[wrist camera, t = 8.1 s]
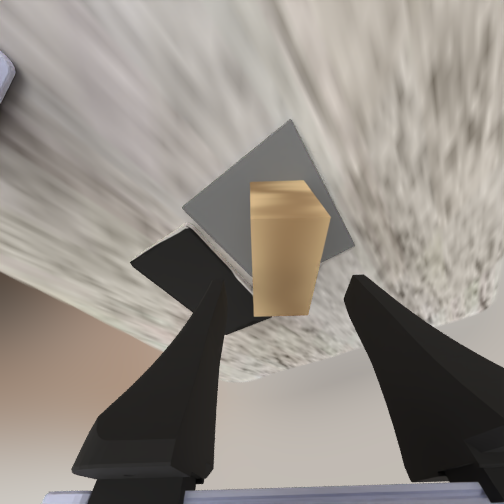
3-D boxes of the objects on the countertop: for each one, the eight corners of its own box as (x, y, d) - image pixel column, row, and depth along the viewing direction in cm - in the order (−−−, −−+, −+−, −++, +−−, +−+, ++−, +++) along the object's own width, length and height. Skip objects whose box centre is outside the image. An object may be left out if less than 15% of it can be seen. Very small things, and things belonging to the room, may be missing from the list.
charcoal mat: (183, 206, 16) (181, 208, 16) (290, 119, 13) (291, 119, 12) (265, 287, 22) (265, 290, 22) (353, 243, 19) (355, 245, 18)
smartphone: (188, 223, 16) (275, 316, 24) (192, 216, 17) (274, 307, 25) (126, 264, 19) (222, 336, 26) (132, 256, 20) (223, 328, 27)
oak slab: (252, 264, 19) (253, 316, 15) (249, 181, 15) (250, 219, 10) (293, 263, 19) (307, 315, 15) (303, 180, 15) (330, 217, 10)
